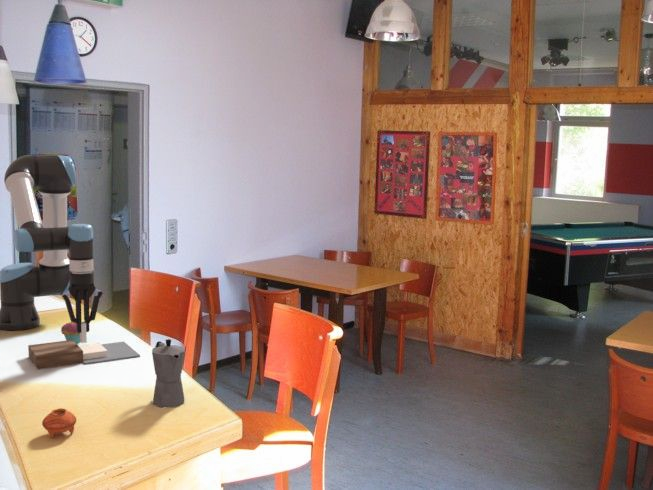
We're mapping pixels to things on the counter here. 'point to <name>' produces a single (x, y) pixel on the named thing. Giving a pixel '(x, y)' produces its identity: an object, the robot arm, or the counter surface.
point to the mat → (114, 353)
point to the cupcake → (71, 332)
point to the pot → (59, 422)
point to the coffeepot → (168, 374)
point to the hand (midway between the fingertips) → (83, 341)
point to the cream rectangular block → (93, 351)
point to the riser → (55, 354)
